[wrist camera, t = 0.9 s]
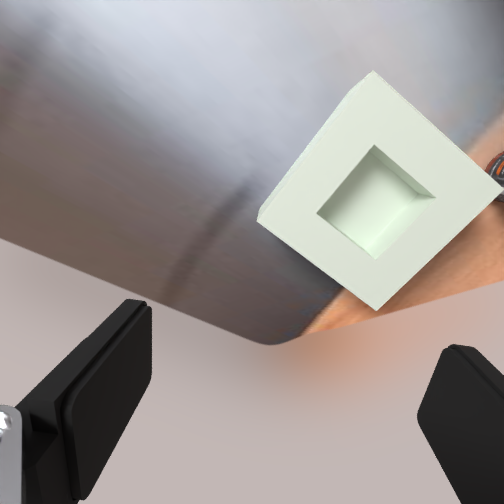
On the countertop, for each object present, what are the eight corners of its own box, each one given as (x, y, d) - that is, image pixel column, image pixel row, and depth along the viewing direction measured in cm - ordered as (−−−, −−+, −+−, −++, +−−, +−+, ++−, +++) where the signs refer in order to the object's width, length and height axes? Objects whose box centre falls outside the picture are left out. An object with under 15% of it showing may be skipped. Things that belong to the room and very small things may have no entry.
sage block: (349, 90, 31) (373, 70, 24) (454, 182, 33) (504, 189, 26) (259, 208, 36) (256, 221, 28) (356, 282, 38) (376, 311, 31)
